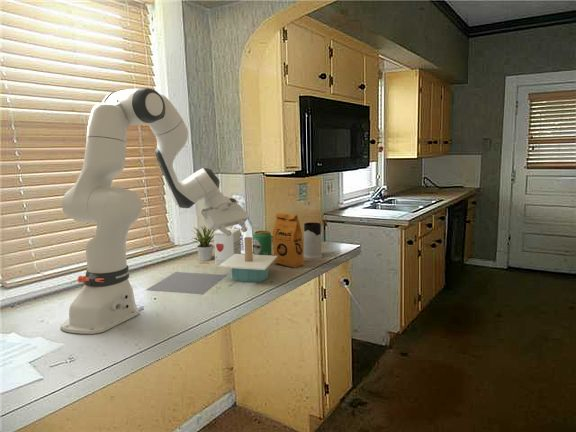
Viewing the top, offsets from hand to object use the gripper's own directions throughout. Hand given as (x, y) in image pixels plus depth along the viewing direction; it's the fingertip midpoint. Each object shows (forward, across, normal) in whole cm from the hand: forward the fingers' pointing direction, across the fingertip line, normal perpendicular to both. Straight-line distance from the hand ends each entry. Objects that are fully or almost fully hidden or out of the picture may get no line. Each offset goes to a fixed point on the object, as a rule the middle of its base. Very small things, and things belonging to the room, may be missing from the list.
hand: (237, 233), depth 163 cm
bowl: (+16, 0, +8) cm, 18 cm away
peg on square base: (+11, 0, +4) cm, 12 cm away
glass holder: (+19, +43, +5) cm, 47 cm away
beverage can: (+7, +26, +17) cm, 32 cm away
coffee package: (+18, +23, +6) cm, 30 cm away
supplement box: (+2, +10, +22) cm, 25 cm away
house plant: (-8, +12, +32) cm, 35 cm away
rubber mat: (+5, -18, +19) cm, 27 cm away
